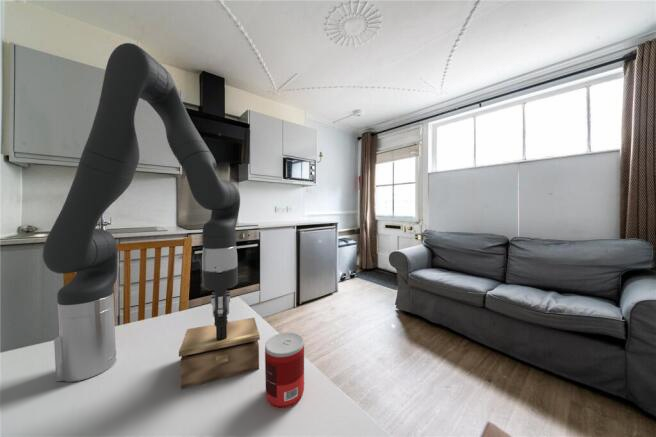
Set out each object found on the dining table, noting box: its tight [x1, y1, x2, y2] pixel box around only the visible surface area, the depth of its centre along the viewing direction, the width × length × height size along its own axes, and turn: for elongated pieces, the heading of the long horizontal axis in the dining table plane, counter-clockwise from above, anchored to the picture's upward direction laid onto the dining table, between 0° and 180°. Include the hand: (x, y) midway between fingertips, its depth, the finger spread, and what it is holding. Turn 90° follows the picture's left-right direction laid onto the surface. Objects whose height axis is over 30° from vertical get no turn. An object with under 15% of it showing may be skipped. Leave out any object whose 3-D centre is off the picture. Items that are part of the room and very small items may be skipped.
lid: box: [178, 317, 261, 358], centre depth 59 cm, size 17×12×1 cm
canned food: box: [264, 332, 305, 409], centre depth 49 cm, size 8×8×11 cm
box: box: [179, 340, 260, 390], centre depth 59 cm, size 16×12×6 cm
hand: (221, 338), depth 56 cm, fingers closed
